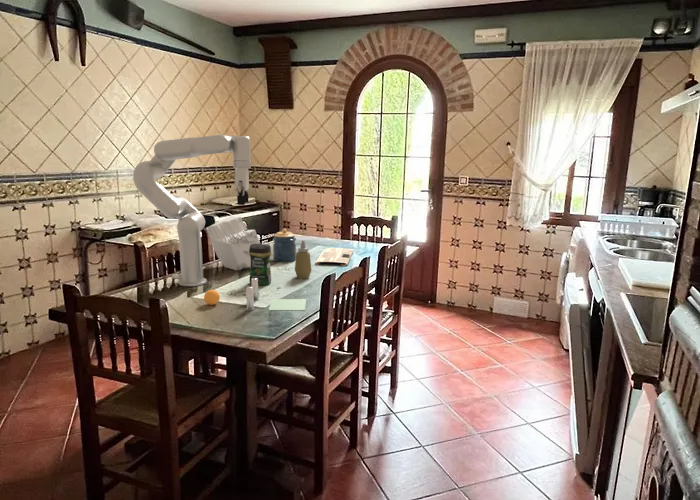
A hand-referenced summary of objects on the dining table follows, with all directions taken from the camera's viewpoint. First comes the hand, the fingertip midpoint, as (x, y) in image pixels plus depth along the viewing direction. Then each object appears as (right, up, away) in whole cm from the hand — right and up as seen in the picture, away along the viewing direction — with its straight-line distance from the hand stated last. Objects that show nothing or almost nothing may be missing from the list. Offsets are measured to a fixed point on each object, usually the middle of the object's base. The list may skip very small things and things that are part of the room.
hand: (243, 203), depth 223 cm
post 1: (+9, -44, -30) cm, 54 cm away
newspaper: (+38, -26, +64) cm, 79 cm away
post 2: (+9, -41, -17) cm, 45 cm away
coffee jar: (+6, -36, +8) cm, 38 cm away
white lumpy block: (-11, -30, +36) cm, 48 cm away
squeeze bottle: (+25, -34, +20) cm, 47 cm away
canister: (+11, -26, +57) cm, 64 cm away
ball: (-7, -39, -25) cm, 47 cm away
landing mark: (+23, -43, -23) cm, 53 cm away
